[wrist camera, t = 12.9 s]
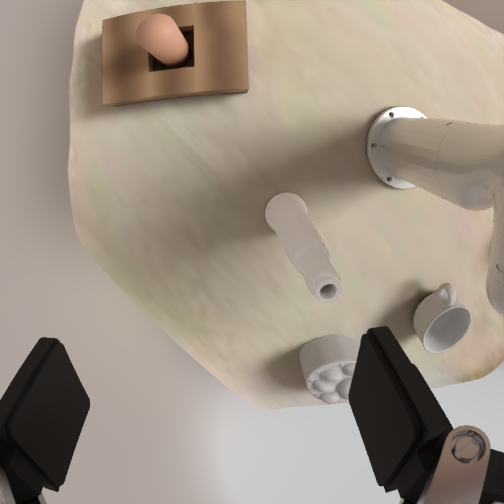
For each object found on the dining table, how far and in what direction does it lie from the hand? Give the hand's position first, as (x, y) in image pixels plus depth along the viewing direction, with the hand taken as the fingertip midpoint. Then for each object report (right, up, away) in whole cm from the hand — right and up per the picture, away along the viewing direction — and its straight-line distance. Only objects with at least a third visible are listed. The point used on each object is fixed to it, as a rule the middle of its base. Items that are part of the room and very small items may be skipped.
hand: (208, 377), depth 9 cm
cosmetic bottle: (+6, +9, +36) cm, 38 cm away
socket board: (-9, +30, +26) cm, 41 cm away
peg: (-9, +29, +25) cm, 40 cm away
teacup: (+36, -6, +45) cm, 57 cm away
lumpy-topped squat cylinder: (+16, -16, +48) cm, 53 cm away
